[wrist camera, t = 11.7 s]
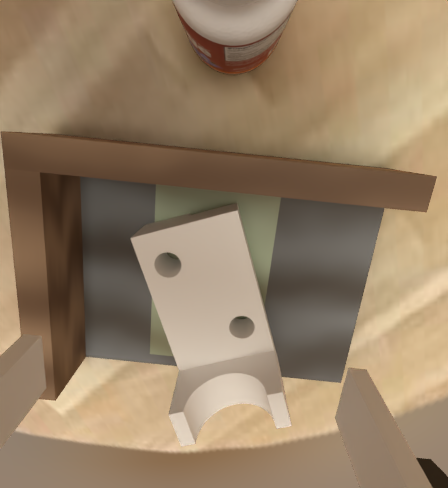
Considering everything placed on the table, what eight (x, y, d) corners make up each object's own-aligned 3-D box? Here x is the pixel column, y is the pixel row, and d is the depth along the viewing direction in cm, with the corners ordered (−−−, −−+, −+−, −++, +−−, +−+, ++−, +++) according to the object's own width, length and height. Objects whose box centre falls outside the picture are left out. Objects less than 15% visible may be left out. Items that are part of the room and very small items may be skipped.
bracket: (276, 350, 27) (291, 426, 20) (194, 367, 28) (181, 446, 21) (237, 200, 23) (238, 226, 16) (144, 224, 24) (106, 259, 17)
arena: (57, 134, 24) (0, 131, 18) (387, 168, 24) (437, 176, 18) (68, 347, 29) (27, 397, 23) (337, 374, 29) (362, 432, 23)
